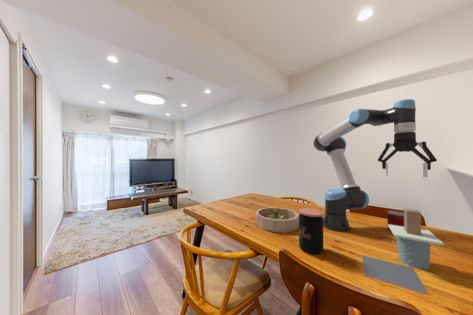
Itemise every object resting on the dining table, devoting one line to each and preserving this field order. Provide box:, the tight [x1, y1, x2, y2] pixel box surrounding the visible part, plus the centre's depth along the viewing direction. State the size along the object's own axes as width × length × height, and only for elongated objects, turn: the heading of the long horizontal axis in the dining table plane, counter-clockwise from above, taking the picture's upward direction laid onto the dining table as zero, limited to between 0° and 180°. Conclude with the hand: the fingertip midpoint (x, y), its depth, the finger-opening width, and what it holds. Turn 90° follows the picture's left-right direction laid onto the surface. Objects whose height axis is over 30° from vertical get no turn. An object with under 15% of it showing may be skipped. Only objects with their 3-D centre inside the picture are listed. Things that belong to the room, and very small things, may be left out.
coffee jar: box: [298, 207, 324, 256], centre depth 81 cm, size 11×11×18 cm
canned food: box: [387, 210, 404, 232], centre depth 102 cm, size 8×8×11 cm
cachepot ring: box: [255, 206, 299, 233], centre depth 113 cm, size 27×27×7 cm
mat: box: [361, 255, 430, 296], centre depth 64 cm, size 16×16×1 cm
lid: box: [387, 208, 445, 246], centre depth 70 cm, size 13×13×10 cm
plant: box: [266, 209, 287, 220], centre depth 112 cm, size 20×20×11 cm
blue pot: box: [395, 237, 432, 270], centre depth 70 cm, size 10×10×12 cm
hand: (405, 176), depth 82 cm, fingers open, 13 cm apart
